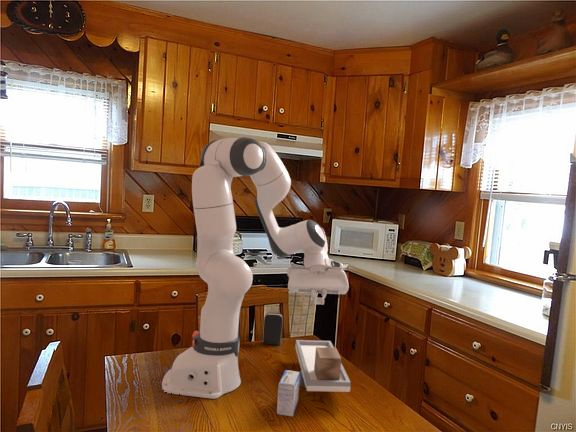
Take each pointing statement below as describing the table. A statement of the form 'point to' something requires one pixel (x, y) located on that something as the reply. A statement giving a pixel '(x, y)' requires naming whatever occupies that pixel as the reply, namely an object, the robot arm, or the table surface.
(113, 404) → the table surface
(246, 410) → the table surface
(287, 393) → the medicine box
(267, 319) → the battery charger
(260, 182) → the robot arm
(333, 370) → the walnut block
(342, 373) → the white flat rectangular tray
